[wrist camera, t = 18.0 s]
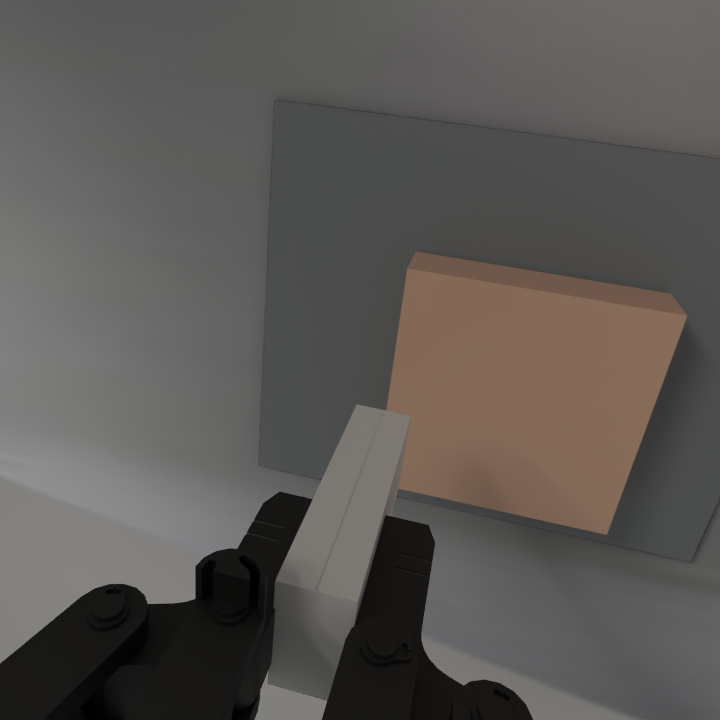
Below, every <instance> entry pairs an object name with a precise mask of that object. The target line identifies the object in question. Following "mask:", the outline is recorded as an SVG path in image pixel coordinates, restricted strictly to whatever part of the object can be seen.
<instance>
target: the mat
mask: <svg viewBox="0 0 720 720" xmlns="http://www.w3.org/2000/svg"><path fill="white" fill-rule="evenodd" d="M415 252H423V253H429V254H435V255H441V256H447V257H453V258H459V259H465V260H471V261H477V262H483V263H489V264H495V265H501V266H507V267H514V268H520V269H526V270H532V271H538V272H544V273H550V274H556V275H562V276H568V277H574V278H580V279H586V280H592V281H599V282H605V283H611V284H617V285H623V286H629V287H635V288H641V289H647V290H653V291H659V292H665V293H671V295H672V296H673V297H674V299H675V300H676V301H677V302H678V304H679V305H680V306H681V308H682V309H683V310H684V312H685V313H686V314H687V319H686V321H685V324H684V327H683V329H682V332H681V335H680V338H679V340H678V343H677V346H676V348H675V351H674V354H673V357H672V359H671V362H670V365H669V367H668V370H667V373H666V376H665V378H664V381H663V384H662V386H661V389H660V392H659V395H658V397H657V400H656V403H655V405H654V408H653V411H652V414H651V416H650V419H649V422H648V424H647V427H646V430H645V433H644V435H643V438H642V441H641V443H640V446H639V449H638V452H637V454H636V457H635V460H634V462H633V465H632V468H631V471H630V473H629V476H628V479H627V481H626V484H625V487H624V490H623V492H622V495H621V498H620V500H619V503H618V506H617V509H616V511H615V514H614V517H613V519H612V522H611V525H610V528H609V530H608V533H607V535H605V534H601V533H596V532H592V531H587V530H583V529H578V528H574V527H569V526H565V525H560V524H556V523H551V522H547V521H542V520H538V519H533V518H529V517H524V516H520V515H515V514H511V513H506V512H502V511H497V510H493V509H488V508H484V507H479V506H475V505H470V504H466V503H461V502H457V501H452V500H448V499H443V498H439V497H434V496H430V495H425V494H421V493H416V492H412V491H407V490H402V489H398V493H397V497H402V498H406V499H410V500H415V501H419V502H424V503H428V504H433V505H437V506H442V507H446V508H451V509H455V510H460V511H464V512H469V513H473V514H478V515H482V516H486V517H491V518H495V519H500V520H504V521H509V522H513V523H518V524H522V525H527V526H531V527H536V528H540V529H545V530H549V531H553V532H558V533H562V534H567V535H571V536H576V537H580V538H585V539H589V540H594V541H598V542H603V543H607V544H612V545H616V546H621V547H625V548H629V549H634V550H638V551H643V552H647V553H652V554H656V555H661V556H665V557H670V558H674V559H679V560H683V561H688V562H691V560H692V558H693V556H694V553H695V551H696V549H697V547H698V545H699V542H700V540H701V538H702V536H703V534H704V531H705V529H706V527H707V525H708V523H709V521H710V518H711V516H712V514H713V512H714V510H715V507H716V505H717V503H718V501H719V499H720V159H718V158H711V157H703V156H696V155H688V154H681V153H673V152H666V151H658V150H651V149H643V148H636V147H628V146H621V145H613V144H606V143H598V142H591V141H583V140H576V139H568V138H561V137H553V136H546V135H538V134H531V133H523V132H516V131H508V130H501V129H493V128H486V127H478V126H471V125H463V124H456V123H448V122H441V121H433V120H426V119H418V118H411V117H403V116H396V115H388V114H381V113H373V112H366V111H358V110H351V109H343V108H336V107H328V106H321V105H313V104H306V103H298V102H291V101H283V100H274V122H273V145H272V168H271V191H270V214H269V237H268V260H267V283H266V306H265V329H264V352H263V375H262V398H261V422H260V445H259V466H263V467H267V468H272V469H276V470H281V471H285V472H290V473H294V474H299V475H303V476H308V477H312V478H317V479H321V480H322V478H323V476H324V474H325V472H326V470H327V467H328V465H329V463H330V461H331V459H332V457H333V454H334V452H335V450H336V448H337V446H338V444H339V441H340V439H341V437H342V435H343V433H344V431H345V428H346V426H347V424H348V422H349V420H350V418H351V415H352V413H353V411H354V409H355V407H356V405H362V406H367V407H371V408H376V409H381V410H386V409H387V403H388V396H389V389H390V382H391V376H392V369H393V362H394V355H395V348H396V342H397V335H398V328H399V321H400V315H401V308H402V301H403V294H404V287H405V281H406V274H407V268H408V266H409V264H410V262H411V260H412V258H413V256H414V254H415Z"/></svg>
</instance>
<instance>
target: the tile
mask: <svg viewBox="0 0 720 720" xmlns="http://www.w3.org/2000/svg"><path fill="white" fill-rule="evenodd" d="M686 319H687V314H686V313H685V312H684V310H683V309H682V308H681V306H680V305H679V304H678V302H677V301H676V300H675V299H674V297H673V296H672V295H671V293H665V292H659V291H653V290H647V289H641V288H635V287H629V286H623V285H617V284H611V283H605V282H599V281H592V280H586V279H580V278H574V277H568V276H562V275H556V274H550V273H544V272H538V271H532V270H526V269H520V268H514V267H507V266H501V265H495V264H489V263H483V262H477V261H471V260H465V259H459V258H453V257H447V256H441V255H435V254H429V253H423V252H415V254H414V256H413V258H412V260H411V262H410V264H409V266H408V268H407V274H406V281H405V287H404V294H403V301H402V308H401V315H400V321H399V328H398V335H397V342H396V348H395V355H394V362H393V369H392V376H391V382H390V389H389V396H388V403H387V409H386V411H390V412H395V413H400V414H405V415H409V416H411V419H410V425H409V430H408V436H407V442H406V447H405V453H404V459H403V464H402V470H401V476H400V482H399V487H398V489H402V490H407V491H412V492H416V493H421V494H425V495H430V496H434V497H439V498H443V499H448V500H452V501H457V502H461V503H466V504H470V505H475V506H479V507H484V508H488V509H493V510H497V511H502V512H506V513H511V514H515V515H520V516H524V517H529V518H533V519H538V520H542V521H547V522H551V523H556V524H560V525H565V526H569V527H574V528H578V529H583V530H587V531H592V532H596V533H601V534H605V535H607V533H608V530H609V528H610V525H611V522H612V519H613V517H614V514H615V511H616V509H617V506H618V503H619V500H620V498H621V495H622V492H623V490H624V487H625V484H626V481H627V479H628V476H629V473H630V471H631V468H632V465H633V462H634V460H635V457H636V454H637V452H638V449H639V446H640V443H641V441H642V438H643V435H644V433H645V430H646V427H647V424H648V422H649V419H650V416H651V414H652V411H653V408H654V405H655V403H656V400H657V397H658V395H659V392H660V389H661V386H662V384H663V381H664V378H665V376H666V373H667V370H668V367H669V365H670V362H671V359H672V357H673V354H674V351H675V348H676V346H677V343H678V340H679V338H680V335H681V332H682V329H683V327H684V324H685V321H686Z"/></svg>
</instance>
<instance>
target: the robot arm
mask: <svg viewBox="0 0 720 720" xmlns="http://www.w3.org/2000/svg"><path fill="white" fill-rule="evenodd" d="M410 419H411V416H409V415H405V414H400V413H395V412H390V411H386V410H381V409H376V408H371V407H367V406H362V405H356V407H355V409H354V411H353V413H352V415H351V418H350V420H349V422H348V424H347V426H346V428H345V431H344V433H343V435H342V437H341V439H340V441H339V444H338V446H337V448H336V450H335V452H334V454H333V457H332V459H331V461H330V463H329V465H328V467H327V470H326V472H325V474H324V476H323V478H322V480H321V483H320V485H319V487H318V489H317V491H316V493H315V496H314V498H313V499H309V498H305V497H300V496H296V495H292V494H288V493H283V492H279V493H277V494H276V495H274V496H273V497H272V498H270V499H269V500H267V501H266V502H265V503H263V505H262V507H261V509H260V510H259V512H258V514H257V515H256V517H255V520H254V522H252V524H251V526H250V528H249V529H248V531H247V535H245V536H244V538H243V540H242V542H241V543H240V545H239V547H238V549H225V550H220V551H216V552H214V553H212V554H210V555H208V556H206V557H204V558H203V559H202V560H201V561H200V562H199V563H198V564H197V565H196V599H194V600H191V601H188V602H183V603H174V604H147V601H146V598H145V596H144V594H143V593H141V592H140V591H139V590H138V589H137V588H135V587H132V586H128V585H125V584H109V585H105V586H102V587H99V588H95V589H93V590H92V591H90V592H88V593H87V594H85V595H83V596H82V597H80V598H79V599H78V600H77V601H76V602H74V603H73V604H72V605H71V606H70V607H68V608H67V609H66V610H65V611H64V612H62V613H61V614H60V615H59V616H57V617H56V618H55V619H54V620H53V621H51V622H50V623H49V624H48V625H47V626H45V627H44V628H43V629H42V630H40V631H39V632H38V633H37V634H36V635H34V636H33V637H32V638H31V639H30V640H28V641H27V642H26V643H25V644H24V645H22V646H21V647H20V648H19V649H17V650H16V651H15V652H14V653H13V654H11V655H10V656H9V657H8V658H7V659H5V660H4V661H3V662H2V663H1V664H0V720H254V719H255V717H256V714H257V712H258V706H259V700H260V689H261V687H262V684H263V682H264V679H265V677H266V674H267V672H268V670H269V673H268V674H269V675H268V684H271V685H274V686H278V687H281V688H285V689H288V690H292V691H296V692H299V693H302V694H306V695H310V696H313V697H316V698H320V699H323V700H327V704H326V708H325V711H324V714H323V718H322V720H533V718H532V717H531V714H530V712H529V710H528V708H527V706H526V704H525V703H524V702H523V701H522V700H521V699H520V698H519V697H518V695H516V693H515V692H514V691H512V690H510V689H509V688H507V687H505V686H504V685H502V684H500V683H497V682H492V681H488V680H479V681H471V682H469V683H467V684H466V685H464V686H463V685H462V684H460V683H458V682H456V681H455V680H453V679H452V678H450V677H448V676H447V675H446V674H444V673H443V672H442V671H440V670H439V669H438V668H437V667H436V666H435V665H434V664H433V663H432V662H431V661H430V660H429V658H428V656H427V654H426V653H425V651H424V648H423V645H422V641H421V630H422V624H423V617H424V611H425V604H426V598H427V591H428V585H429V578H430V572H431V566H432V559H433V553H434V546H435V541H434V539H433V536H432V533H431V531H430V528H429V526H428V525H425V524H421V523H417V522H413V521H408V520H404V519H400V518H396V517H392V513H393V510H394V506H395V502H396V498H397V493H398V487H399V482H400V476H401V470H402V464H403V459H404V453H405V447H406V442H407V436H408V430H409V425H410Z"/></svg>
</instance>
